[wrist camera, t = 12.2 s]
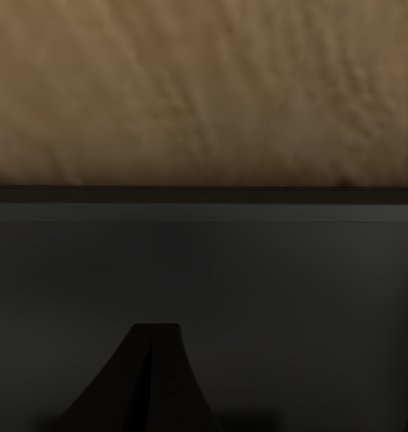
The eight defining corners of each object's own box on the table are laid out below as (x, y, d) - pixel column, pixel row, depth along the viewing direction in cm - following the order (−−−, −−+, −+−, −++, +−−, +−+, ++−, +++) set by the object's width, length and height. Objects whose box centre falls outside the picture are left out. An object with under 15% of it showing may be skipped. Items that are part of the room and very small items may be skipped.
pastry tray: (474, 187, 12) (524, 204, 10) (392, 498, 17) (416, 546, 15) (-175, 184, 11) (-244, 201, 10) (-66, 511, 16) (-98, 563, 15)
